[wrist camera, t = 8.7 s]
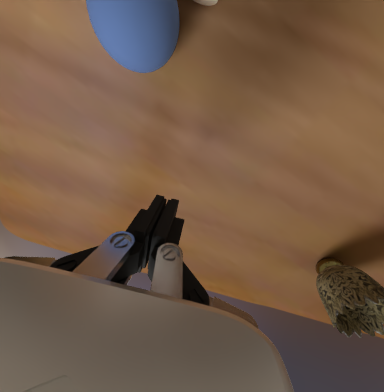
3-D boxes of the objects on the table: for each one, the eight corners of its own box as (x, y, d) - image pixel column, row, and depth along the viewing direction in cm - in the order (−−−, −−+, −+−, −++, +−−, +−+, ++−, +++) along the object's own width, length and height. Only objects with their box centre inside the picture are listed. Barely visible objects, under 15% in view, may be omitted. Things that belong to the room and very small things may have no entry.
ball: (99, -148, 7) (124, 43, 9) (196, -42, 11) (197, 70, 13) (60, -46, 10) (84, 71, 12) (143, 4, 14) (151, 85, 17)
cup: (292, 260, 26) (325, 317, 19) (344, 238, 23) (404, 296, 16) (311, 284, 28) (347, 343, 21) (360, 268, 26) (418, 329, 19)
